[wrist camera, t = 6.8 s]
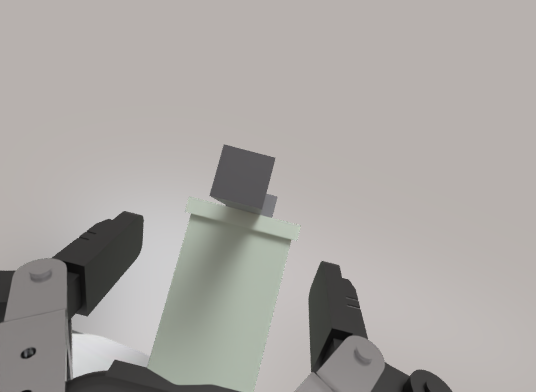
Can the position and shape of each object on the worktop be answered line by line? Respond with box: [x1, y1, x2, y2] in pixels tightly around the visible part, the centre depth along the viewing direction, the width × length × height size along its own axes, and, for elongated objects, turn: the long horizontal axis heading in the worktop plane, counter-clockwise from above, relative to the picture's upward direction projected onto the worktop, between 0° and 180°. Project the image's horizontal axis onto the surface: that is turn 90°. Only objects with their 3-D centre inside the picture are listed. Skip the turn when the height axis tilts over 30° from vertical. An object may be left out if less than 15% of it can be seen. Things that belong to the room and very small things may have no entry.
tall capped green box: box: [147, 197, 301, 392], centre depth 36 cm, size 21×11×32 cm, turn 2°
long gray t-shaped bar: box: [210, 145, 277, 218], centre depth 29 cm, size 26×6×3 cm, turn 2°
